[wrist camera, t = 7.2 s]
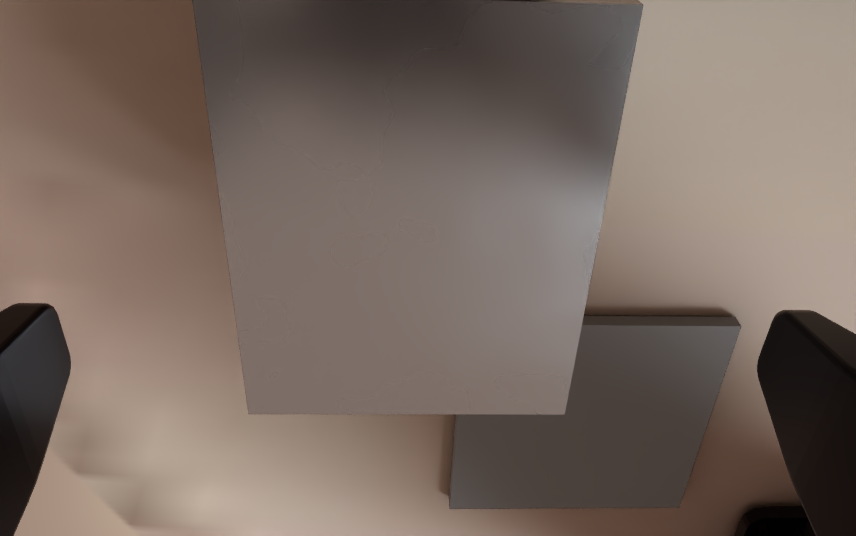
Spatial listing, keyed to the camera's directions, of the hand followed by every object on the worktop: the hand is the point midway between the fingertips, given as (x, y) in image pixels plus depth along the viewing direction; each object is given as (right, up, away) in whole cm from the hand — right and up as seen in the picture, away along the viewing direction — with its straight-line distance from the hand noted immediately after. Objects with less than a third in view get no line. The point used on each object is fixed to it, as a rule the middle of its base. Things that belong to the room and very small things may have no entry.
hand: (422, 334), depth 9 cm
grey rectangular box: (0, +3, +4) cm, 5 cm away
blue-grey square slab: (+4, -3, +11) cm, 13 cm away
